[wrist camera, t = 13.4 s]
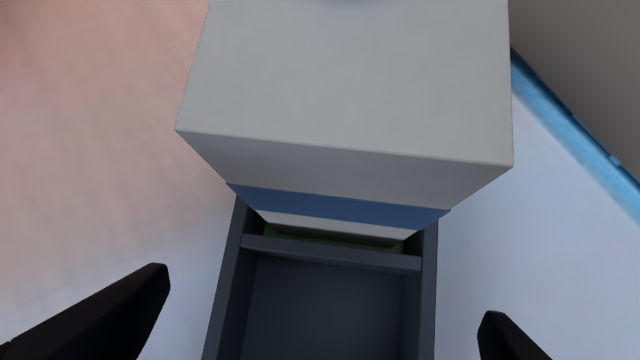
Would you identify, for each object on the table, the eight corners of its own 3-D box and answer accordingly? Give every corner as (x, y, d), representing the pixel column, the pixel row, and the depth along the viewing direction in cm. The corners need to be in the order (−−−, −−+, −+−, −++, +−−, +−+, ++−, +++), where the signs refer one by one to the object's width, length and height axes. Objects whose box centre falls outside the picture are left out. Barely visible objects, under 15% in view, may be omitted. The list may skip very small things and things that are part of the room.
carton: (392, 249, 18) (546, 150, 5) (277, 234, 18) (146, 108, 5) (399, 142, 19) (526, -133, 7) (295, 131, 20) (228, -147, 7)
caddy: (419, 128, 20) (442, 85, 16) (402, 459, 15) (429, 527, 11) (277, 113, 21) (263, 68, 17) (217, 427, 16) (175, 479, 12)
